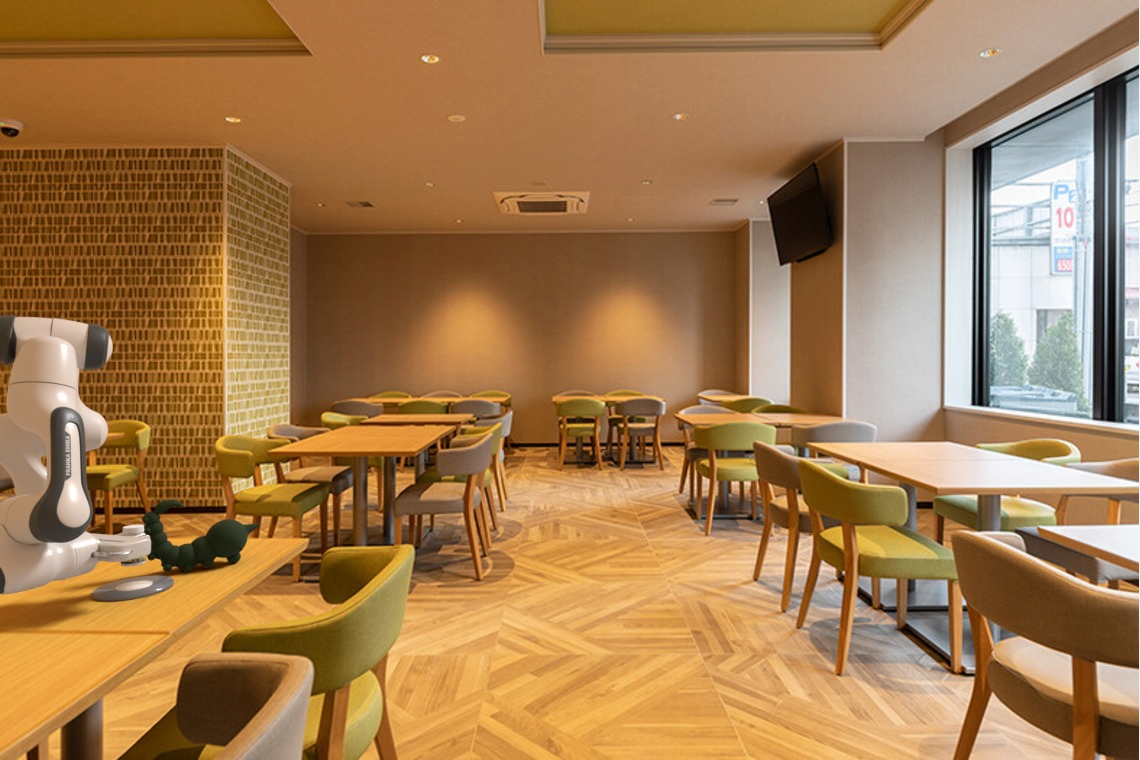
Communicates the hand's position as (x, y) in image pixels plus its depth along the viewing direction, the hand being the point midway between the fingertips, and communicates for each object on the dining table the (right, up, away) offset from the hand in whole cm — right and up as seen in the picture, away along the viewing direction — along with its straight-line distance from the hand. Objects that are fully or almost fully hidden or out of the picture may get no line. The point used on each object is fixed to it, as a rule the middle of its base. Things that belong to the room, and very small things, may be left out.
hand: (137, 537), depth 149 cm
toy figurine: (+6, -11, +16) cm, 21 cm away
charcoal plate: (0, -11, -1) cm, 11 cm away
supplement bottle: (0, -6, -1) cm, 6 cm away
